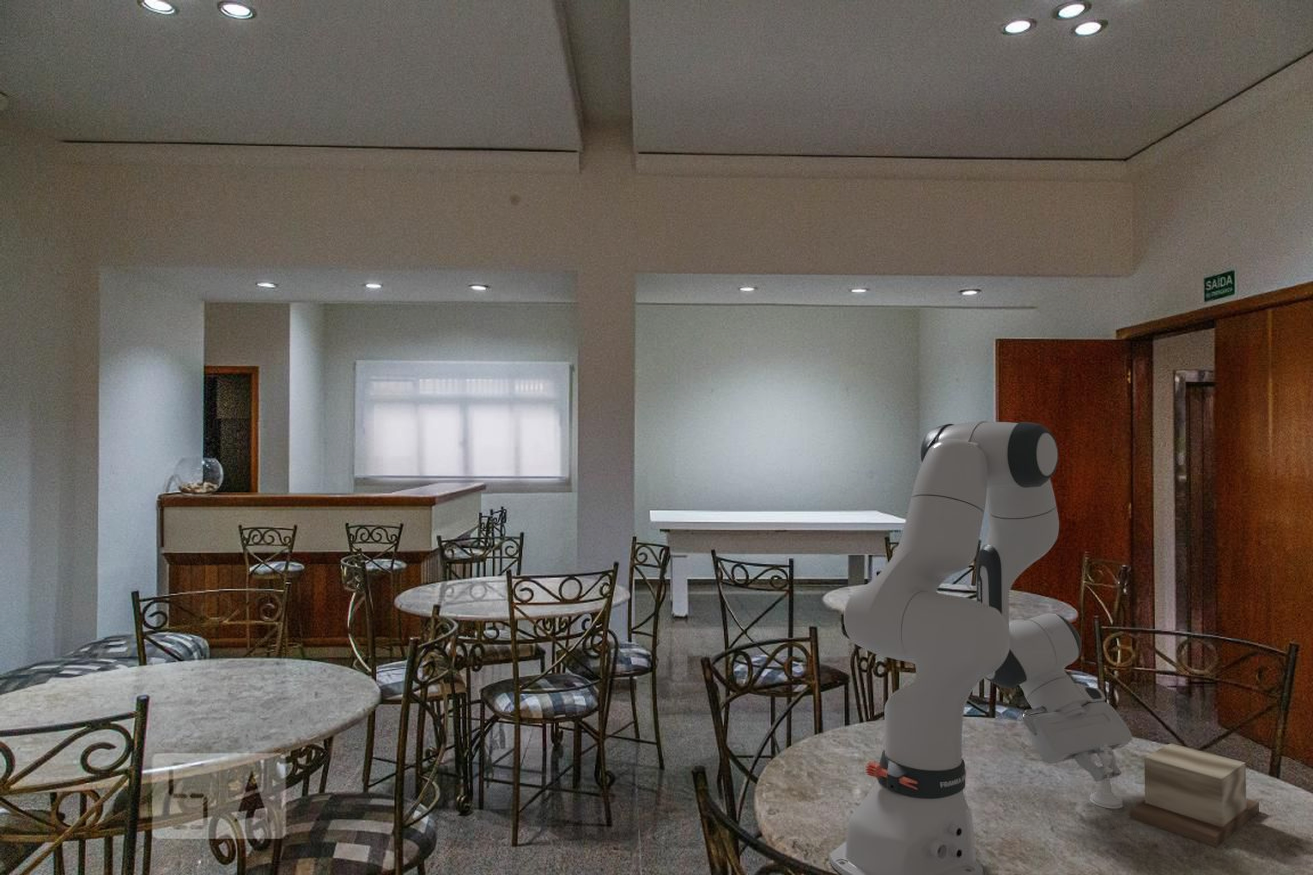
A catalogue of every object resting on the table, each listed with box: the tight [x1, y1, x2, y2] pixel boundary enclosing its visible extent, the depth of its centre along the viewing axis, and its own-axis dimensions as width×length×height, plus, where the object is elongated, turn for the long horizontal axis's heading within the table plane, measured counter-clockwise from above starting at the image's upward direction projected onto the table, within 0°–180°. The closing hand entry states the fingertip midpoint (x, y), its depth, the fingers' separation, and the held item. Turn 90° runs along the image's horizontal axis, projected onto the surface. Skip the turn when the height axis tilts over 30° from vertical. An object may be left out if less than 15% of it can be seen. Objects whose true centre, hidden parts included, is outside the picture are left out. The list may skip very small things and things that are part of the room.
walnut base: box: [1129, 742, 1260, 848], centre depth 130 cm, size 20×12×9 cm, turn 127°
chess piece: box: [1089, 743, 1124, 810], centre depth 135 cm, size 5×5×10 cm
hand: (1109, 777), depth 134 cm, fingers closed on chess piece, 2 cm apart
